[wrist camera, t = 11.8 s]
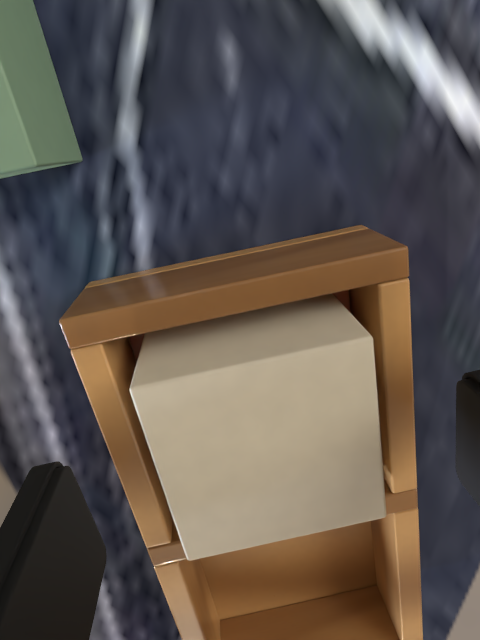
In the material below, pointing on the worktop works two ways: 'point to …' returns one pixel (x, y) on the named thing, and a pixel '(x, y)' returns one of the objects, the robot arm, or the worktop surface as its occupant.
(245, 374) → the pad
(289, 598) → the holder
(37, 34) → the pad
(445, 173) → the worktop surface
